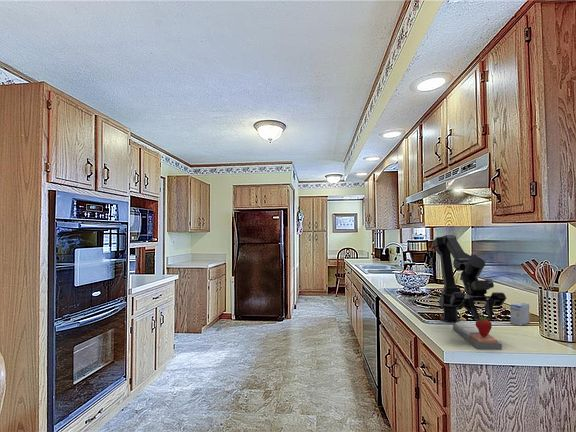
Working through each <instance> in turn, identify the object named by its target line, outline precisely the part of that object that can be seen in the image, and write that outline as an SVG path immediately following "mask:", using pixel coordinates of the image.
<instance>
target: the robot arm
mask: <svg viewBox="0 0 576 432" xmlns="http://www.w3.org/2000/svg"><path fill="white" fill-rule="evenodd" d="M432 243H433V247H434V250H435V252H436V253H437V255H438V256H439V258H440V265H441V272H442V278H443V279H442V280H443V287H442V290H441V295H440V298H439V300H438V305H439V306H440V307H441V308H443V317H441V318H440V321H445V322H451V323H456V322H459V321H460V320H461V318H458V308H459V309H461V308H463V309H465V310H466V311H468V312H469V313H470V314H471V315H472V316H474V318H476V319H475V320H476V321H477V320H479V319H481V317H480V315H479V312H478V309H477V307H476V304H475V302H476V303H477V302H480V303H481V302H483V303H484V306H483V308H484V310H485V313H486V316H487V317H488V318H490V319H489V321H492V320H493V308H494V307H501V306H503V304H504V303H505V301H506V300H507V296H506V294H505V293H504V292H503V291H502V292H498V291H497V292H492V293H491V295H486V294H488V290H490V289H492V288H494V287H495V285H494V280H493V279H492V278H486V279H484V280H483V279H481V280H480V279H479V276H480V275H481V274H482V272H483V270H484V267H485V266H486V261H485V260H484V259H483V258H481V257H479V256H478V255H477V254H469V253H467V252H465V251H464V249H463V248H462V246H461V245H460V243H459V241H458V240H457V236H456V235H454V234H448V235H446V234H445V235H443V236H436V237H435V238H434V239H433V242H432ZM452 258H453V262H452ZM454 269H455V271H457V272H459V271H460V272H461V273H460V277H459V280H460V281H462V283H463V286H464V288H463V291H464V292H463V291H462V292H461V288H460V287H458V286H457V285H456V281H455V274H454ZM465 292H466V293H465Z"/></svg>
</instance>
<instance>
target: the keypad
mask: <svg viewBox="0 0 576 432" xmlns="http://www.w3.org/2000/svg"><path fill="white" fill-rule="evenodd" d="M452 330H453V332H456V333H457V334H458V335H459V336H460V337H461V338H463V339H464V340H465V341H466V342H467V343H469V344H470V345H471V344H472V345H471V346H473V347H474V348H475V349H477V350H502V348H503V347H502V343H501V342H499V341H498V340H497V343H478V342H476V341H475V340H474V339H473V338H471V334H480V333H479V330H478V328H477V327H476V324H475V323H473V322H466V321H465V322H461V321H460V322H459V321H457V322H455V324H453V325H452Z"/></svg>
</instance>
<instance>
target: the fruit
mask: <svg viewBox="0 0 576 432" xmlns="http://www.w3.org/2000/svg"><path fill="white" fill-rule="evenodd" d="M474 318H475V317H474ZM475 320H476V322H475V325H476V327H477V328H478V330H479V333H480V335H481V336H482V337H486V336H487V335H488V334H489V335H490V331H491V330H492V326H493V325H492V322H491V320H490V318H489V317H488V318H487V315H484V316H483V315H482V314H481V315H480V319H479V320H477V319H476V318H475Z"/></svg>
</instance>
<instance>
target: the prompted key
mask: <svg viewBox="0 0 576 432" xmlns="http://www.w3.org/2000/svg"><path fill="white" fill-rule="evenodd" d="M471 338H473V339H474V340H475V341H476V342H478V343H497V341H498V339H497V338H495V337H494V336H492V335H491V334H490V333H489V334H488V335H487V336H486V337H482V336H481V335H480V334H471Z"/></svg>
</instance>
